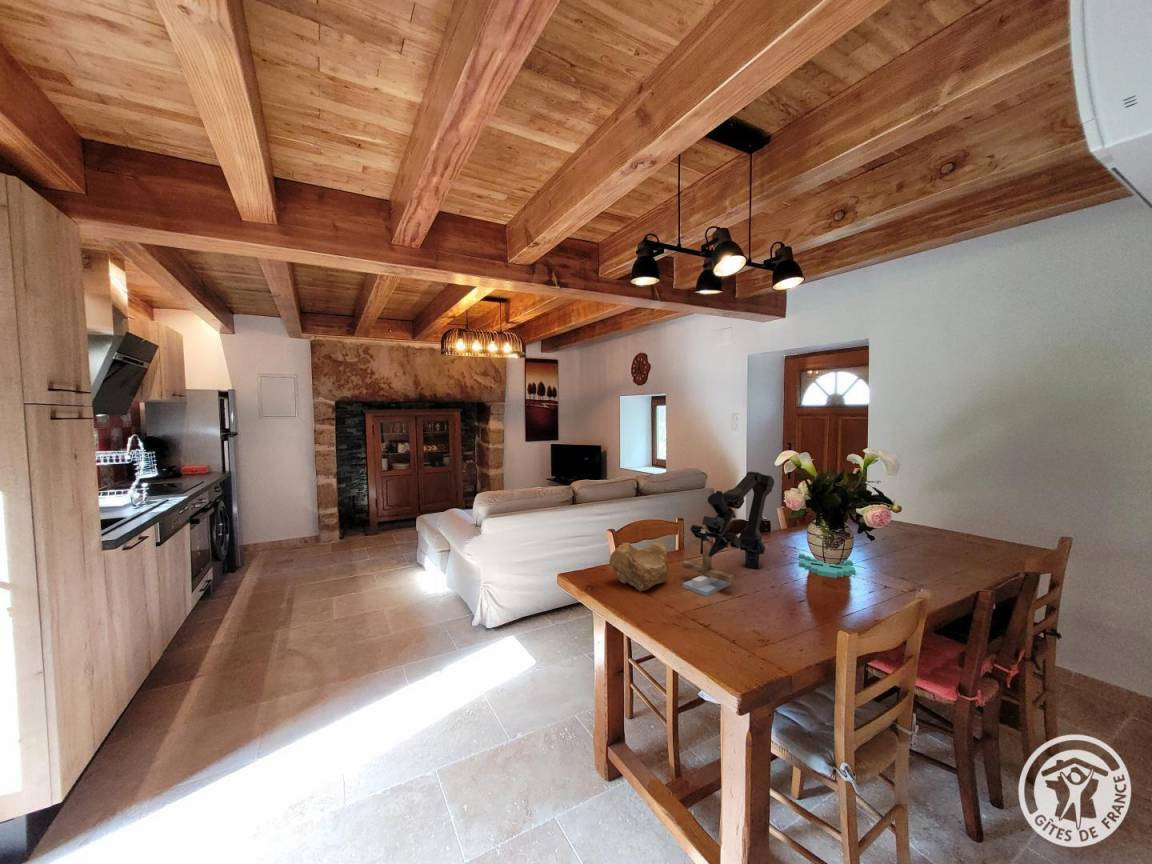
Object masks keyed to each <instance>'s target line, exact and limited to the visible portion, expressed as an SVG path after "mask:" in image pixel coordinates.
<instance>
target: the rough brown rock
mask: <svg viewBox="0 0 1152 864" xmlns="http://www.w3.org/2000/svg"><path fill="white" fill-rule="evenodd" d="M667 553H668V551H667V547H666V545H665V544H664V543H662V542H653V543H652V544H651V545H649V546H648V547H645V548H640V547H639V548H637V547H634V546H633V545H632V544H631V543H630V542H623V543H621V545H620V546H617V547H616V548H615V549H614V551H612V553H611V554H610V557H609V569H610V570H611V571H612V572H614V573H616V574H617V577H618V580H619V581H620V582H621V583H623V584H629V586H633V587H634V588H635V589H636V590H637V591H639V592H644V591H647V590H649V589H650V588H651V587H653V586H655V585H658V584H662V583H664V582H665V581H666V579H667V575H668V572H669V565H668V554H667Z"/></svg>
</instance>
